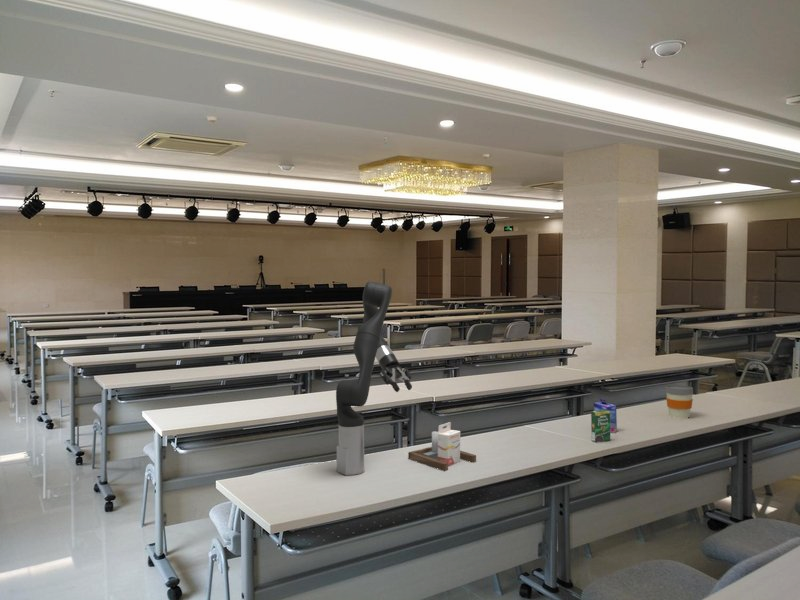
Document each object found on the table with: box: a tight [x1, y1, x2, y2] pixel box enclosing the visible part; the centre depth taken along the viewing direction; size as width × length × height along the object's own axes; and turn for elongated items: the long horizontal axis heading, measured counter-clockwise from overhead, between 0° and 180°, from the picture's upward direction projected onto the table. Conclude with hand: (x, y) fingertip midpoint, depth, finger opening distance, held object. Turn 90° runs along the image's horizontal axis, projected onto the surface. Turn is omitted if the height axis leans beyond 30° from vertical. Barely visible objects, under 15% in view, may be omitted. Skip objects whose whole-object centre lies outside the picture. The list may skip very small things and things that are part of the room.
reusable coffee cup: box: [665, 384, 694, 419], centre depth 300 cm, size 13×13×15 cm
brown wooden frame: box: [407, 446, 477, 472], centre depth 232 cm, size 17×20×2 cm
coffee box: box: [590, 410, 611, 443], centre depth 257 cm, size 8×3×13 cm, turn 108°
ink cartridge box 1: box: [437, 421, 461, 467], centre depth 228 cm, size 9×5×15 cm, turn 141°
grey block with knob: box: [423, 430, 438, 460], centre depth 234 cm, size 12×4×10 cm, turn 130°
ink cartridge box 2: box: [593, 398, 618, 434], centre depth 275 cm, size 10×6×14 cm, turn 21°
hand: (404, 389), depth 248 cm, fingers open, 6 cm apart
